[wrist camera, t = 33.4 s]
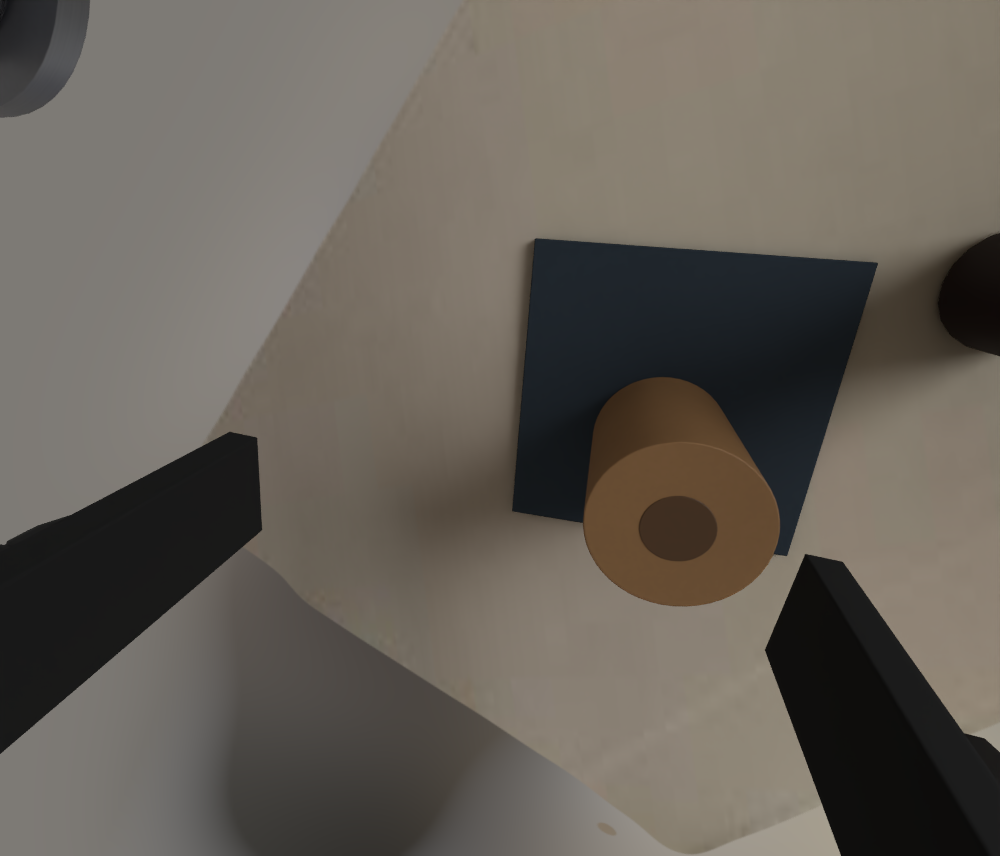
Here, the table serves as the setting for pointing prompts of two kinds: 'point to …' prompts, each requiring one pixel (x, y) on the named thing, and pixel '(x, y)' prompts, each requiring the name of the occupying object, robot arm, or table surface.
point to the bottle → (974, 297)
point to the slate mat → (683, 356)
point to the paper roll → (675, 497)
